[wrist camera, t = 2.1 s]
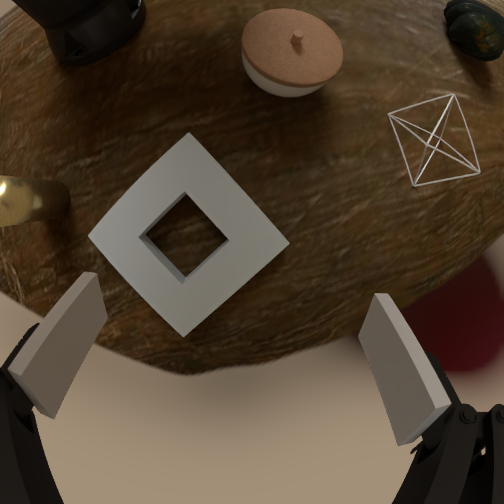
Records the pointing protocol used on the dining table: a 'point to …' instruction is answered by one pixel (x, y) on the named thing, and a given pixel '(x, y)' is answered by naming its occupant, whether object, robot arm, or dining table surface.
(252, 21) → the lidded jar
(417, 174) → the geometric polyhedron
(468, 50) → the squash
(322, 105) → the dining table surface
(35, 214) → the gold cylinder
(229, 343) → the dining table surface
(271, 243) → the frame
